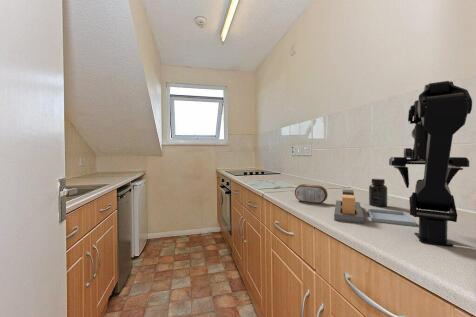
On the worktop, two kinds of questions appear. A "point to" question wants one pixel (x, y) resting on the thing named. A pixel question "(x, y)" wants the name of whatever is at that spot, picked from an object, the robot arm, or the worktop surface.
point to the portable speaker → (311, 193)
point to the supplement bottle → (378, 193)
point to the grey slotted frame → (354, 218)
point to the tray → (391, 217)
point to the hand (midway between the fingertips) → (425, 188)
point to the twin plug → (348, 192)
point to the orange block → (348, 204)
